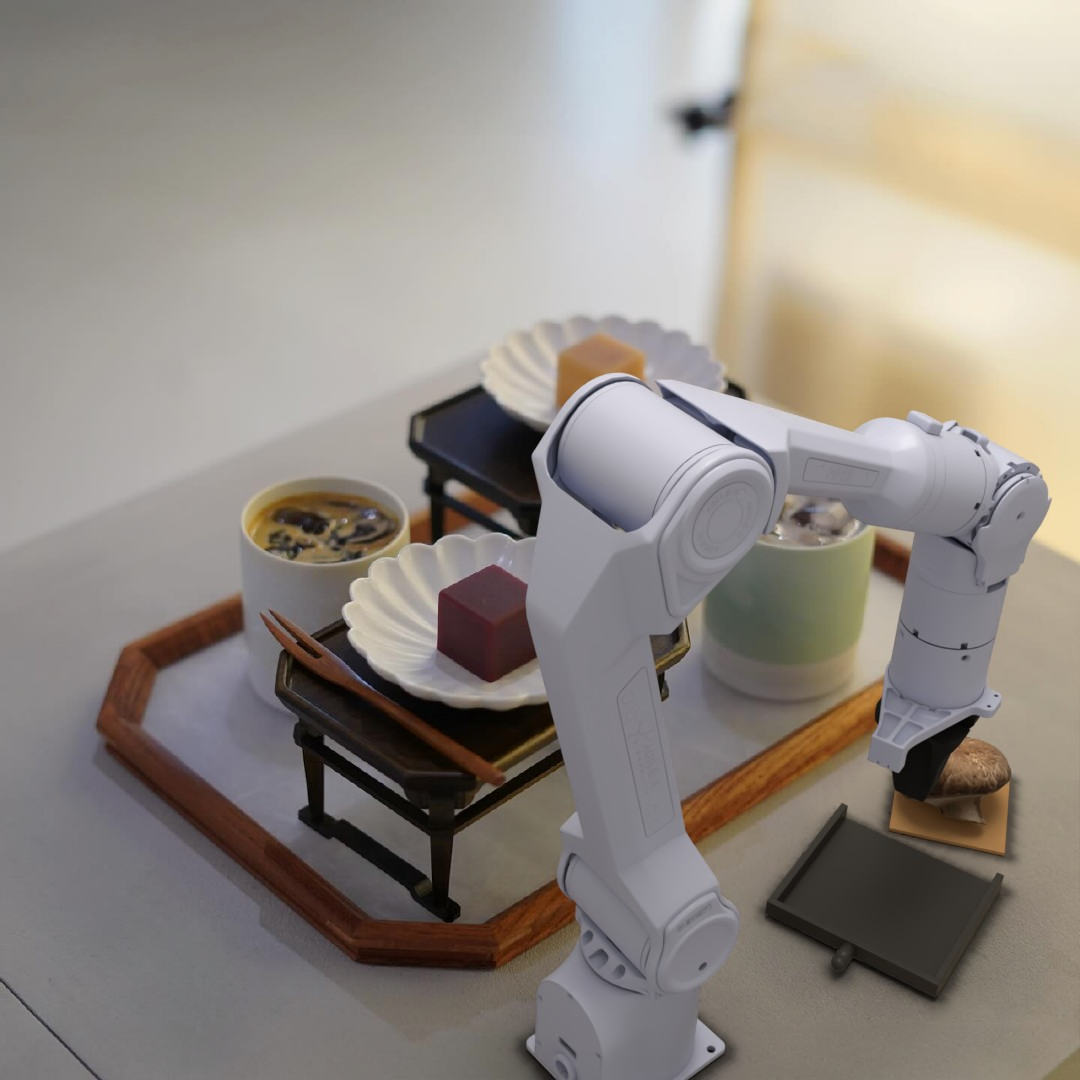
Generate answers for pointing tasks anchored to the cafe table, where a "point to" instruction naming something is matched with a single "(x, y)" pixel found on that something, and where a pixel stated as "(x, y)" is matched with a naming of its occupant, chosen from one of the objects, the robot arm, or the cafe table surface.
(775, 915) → the pan
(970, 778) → the mushroom
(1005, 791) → the mat
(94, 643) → the cafe table surface
